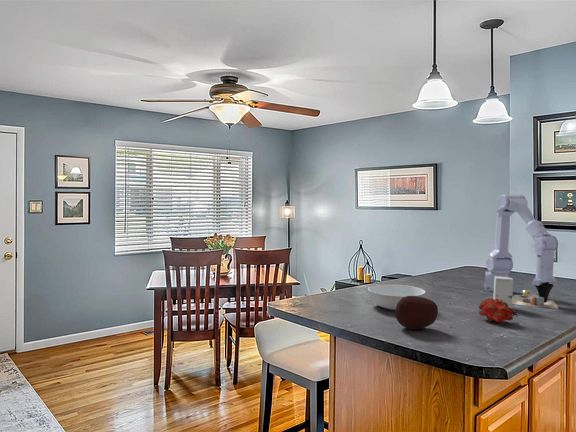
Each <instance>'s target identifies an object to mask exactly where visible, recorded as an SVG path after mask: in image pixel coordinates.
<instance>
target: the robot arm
mask: <svg viewBox="0 0 576 432" xmlns="http://www.w3.org/2000/svg"><path fill="white" fill-rule="evenodd" d="M528 204H529V201H528V199H527V197H526V196H525V195H523V194H503V193H502V194H501V195H500V196H499V197H498V198H497V199H496V223H495V233H494V234H495V237H494V248H493V250H492V251H491V252H490V253H488V255H487V259H486V261H485V262H486V263H485V264H486V265H485V266H486V268H487V270H488V271H485V275H484V276H485V278H484V285H483V288H484V291H485V292H493V293H494V277H495V276H497V277H509V274H510V273H511V271H512V270H513V267H514V262H513V255H512V254H511V253H510V252H509V240H510V239H509V238H510V226H511V225H510V224H511V216H512V215H514V214H515V213H517V214H518V215H519V217H521V219H522V220H523V221H524V223H525V224H526V227H525V228H526V231H527V233H529V235H530V236H531V238H532V240H533V243H532V244H533V248H534V250H535V251H534V253H535V255H536V262H535V263H536V265H535V268H536V269H535V277H534V278H533V279H532V286H535V288H536V290H537V292H538V293H537V294H538V296H540V297H543V298H544V303H546V302H547V300H549V295H550V292H551V290H552V289H553V288H554V284H553V283H556V282H557V279H556V276H554V262H555V260H554V259H555V257H554V256H555V251H556V250H557V248H559V247H558V246H559V241H558V238H557V237H556V236H555V235H552V234H551V233H549V232H548V230H547V229H546V227H545V226H544V225H543V222H542V221H540V220H536V219H535V216H534V214H533V213H532V211H531V210H530V208H529V206H528Z"/></svg>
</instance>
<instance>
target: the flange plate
mask: <svg viewBox="0 0 576 432" xmlns="http://www.w3.org/2000/svg"><path fill="white" fill-rule="evenodd" d="M531 297H535V305H537V306H544V298H543V297H540V296H539V294H538V295H537V294H535V293H531V294H528V298H523V297H522V294H513V298H515V299H517V300H520V301H522V302H530V303H531Z"/></svg>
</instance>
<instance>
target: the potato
mask: <svg viewBox="0 0 576 432" xmlns="http://www.w3.org/2000/svg"><path fill="white" fill-rule="evenodd" d="M394 311H395V312H394V313H395V314H394V315H395V318H396V320H397V322H398V323H399V325H401V327H403V328H407V329H409V330H419V329H424V328H427V327H429V326H431V325H432V324H434V323H435V322H436V320H437V318H438V316H439V315H438V313H439V309H438V305H437V303H436V302H435V301H434V300H432V299H430V298H427V297H425V298H423V297H418V296H406V297H403V298H402V299H401V300H400V301H399V302H398V304H397V306H396V310H394Z"/></svg>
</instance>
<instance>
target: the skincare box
mask: <svg viewBox="0 0 576 432" xmlns="http://www.w3.org/2000/svg"><path fill="white" fill-rule="evenodd" d="M513 293H514V279H513V278H512V277H510V276H508V277H497V276H495V277H494V292H493V294H492V295H493V297H492V298H493V299H494V300H495V299H499V300H502V302H505V303H507V305H508V307H510V308H512V309H513V304H512V296H513V295H514V294H513Z"/></svg>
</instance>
